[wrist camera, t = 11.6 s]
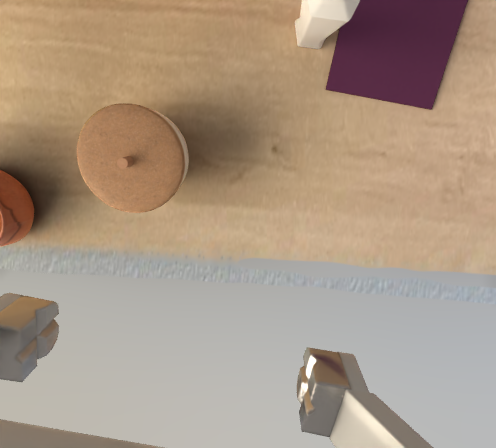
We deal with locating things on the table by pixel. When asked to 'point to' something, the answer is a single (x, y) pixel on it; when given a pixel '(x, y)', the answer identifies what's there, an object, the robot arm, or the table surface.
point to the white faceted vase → (322, 20)
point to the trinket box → (132, 157)
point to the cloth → (396, 50)
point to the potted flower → (14, 210)
